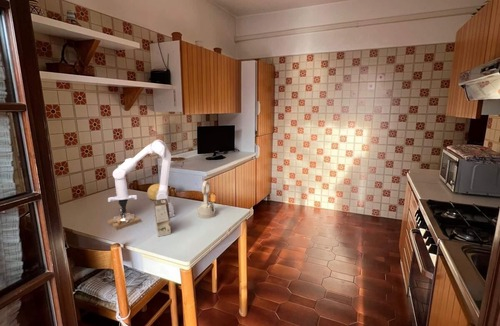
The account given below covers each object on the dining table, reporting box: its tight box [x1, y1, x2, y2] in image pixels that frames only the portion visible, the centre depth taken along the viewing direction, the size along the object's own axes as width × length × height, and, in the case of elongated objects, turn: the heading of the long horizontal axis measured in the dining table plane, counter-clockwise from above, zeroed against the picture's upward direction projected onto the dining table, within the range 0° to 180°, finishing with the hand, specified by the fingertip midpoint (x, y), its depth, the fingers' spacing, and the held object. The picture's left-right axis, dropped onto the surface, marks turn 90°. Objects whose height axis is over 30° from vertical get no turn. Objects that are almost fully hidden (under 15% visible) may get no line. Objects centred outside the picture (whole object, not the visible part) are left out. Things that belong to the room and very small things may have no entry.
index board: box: [106, 212, 142, 231], centre depth 146 cm, size 13×13×4 cm
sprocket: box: [112, 208, 135, 224], centre depth 145 cm, size 11×11×5 cm
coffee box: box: [153, 199, 172, 237], centre depth 133 cm, size 9×6×16 cm
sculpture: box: [146, 183, 160, 201], centre depth 182 cm, size 11×12×11 cm
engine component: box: [197, 180, 216, 220], centre depth 153 cm, size 11×20×10 cm
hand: (124, 212), depth 149 cm, fingers closed
